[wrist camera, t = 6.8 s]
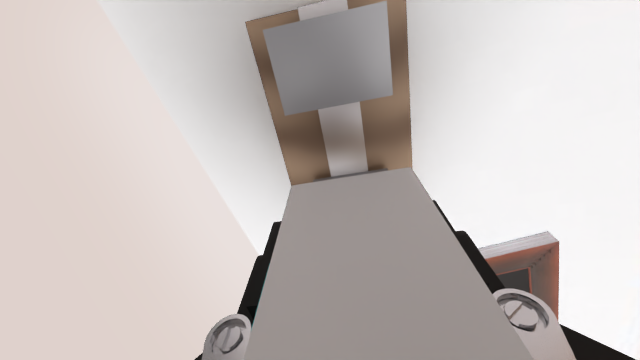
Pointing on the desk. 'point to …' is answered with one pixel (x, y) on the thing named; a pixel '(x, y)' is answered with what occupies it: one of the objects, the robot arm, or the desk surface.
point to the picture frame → (528, 266)
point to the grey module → (374, 280)
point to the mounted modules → (332, 61)
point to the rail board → (341, 107)
